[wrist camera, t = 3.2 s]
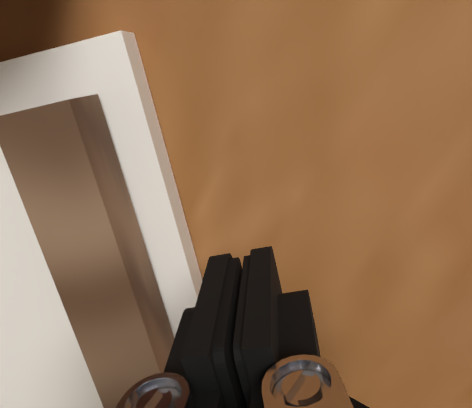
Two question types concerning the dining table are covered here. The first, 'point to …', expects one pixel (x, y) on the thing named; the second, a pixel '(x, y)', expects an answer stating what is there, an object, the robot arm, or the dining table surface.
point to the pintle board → (142, 197)
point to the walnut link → (90, 239)
